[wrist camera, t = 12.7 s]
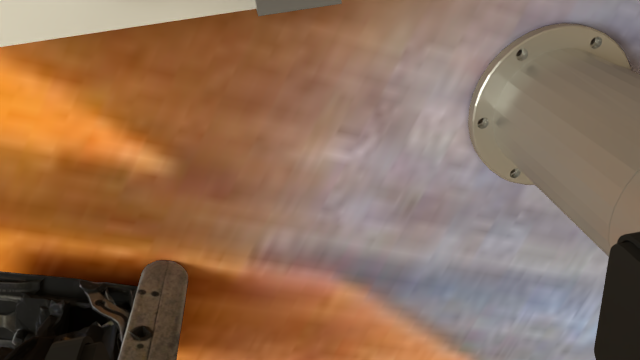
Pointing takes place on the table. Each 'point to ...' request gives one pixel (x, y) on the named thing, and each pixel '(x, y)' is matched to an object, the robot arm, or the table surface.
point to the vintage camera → (94, 313)
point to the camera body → (118, 14)
